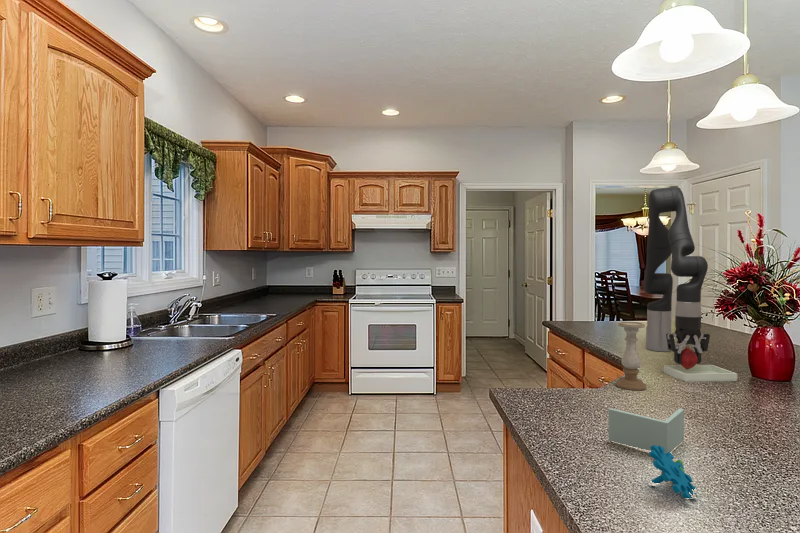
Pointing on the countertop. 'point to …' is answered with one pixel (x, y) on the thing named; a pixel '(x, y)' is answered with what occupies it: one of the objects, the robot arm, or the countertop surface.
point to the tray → (700, 373)
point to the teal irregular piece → (671, 471)
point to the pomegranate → (688, 358)
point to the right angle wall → (646, 430)
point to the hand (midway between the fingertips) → (687, 363)
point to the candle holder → (631, 358)
